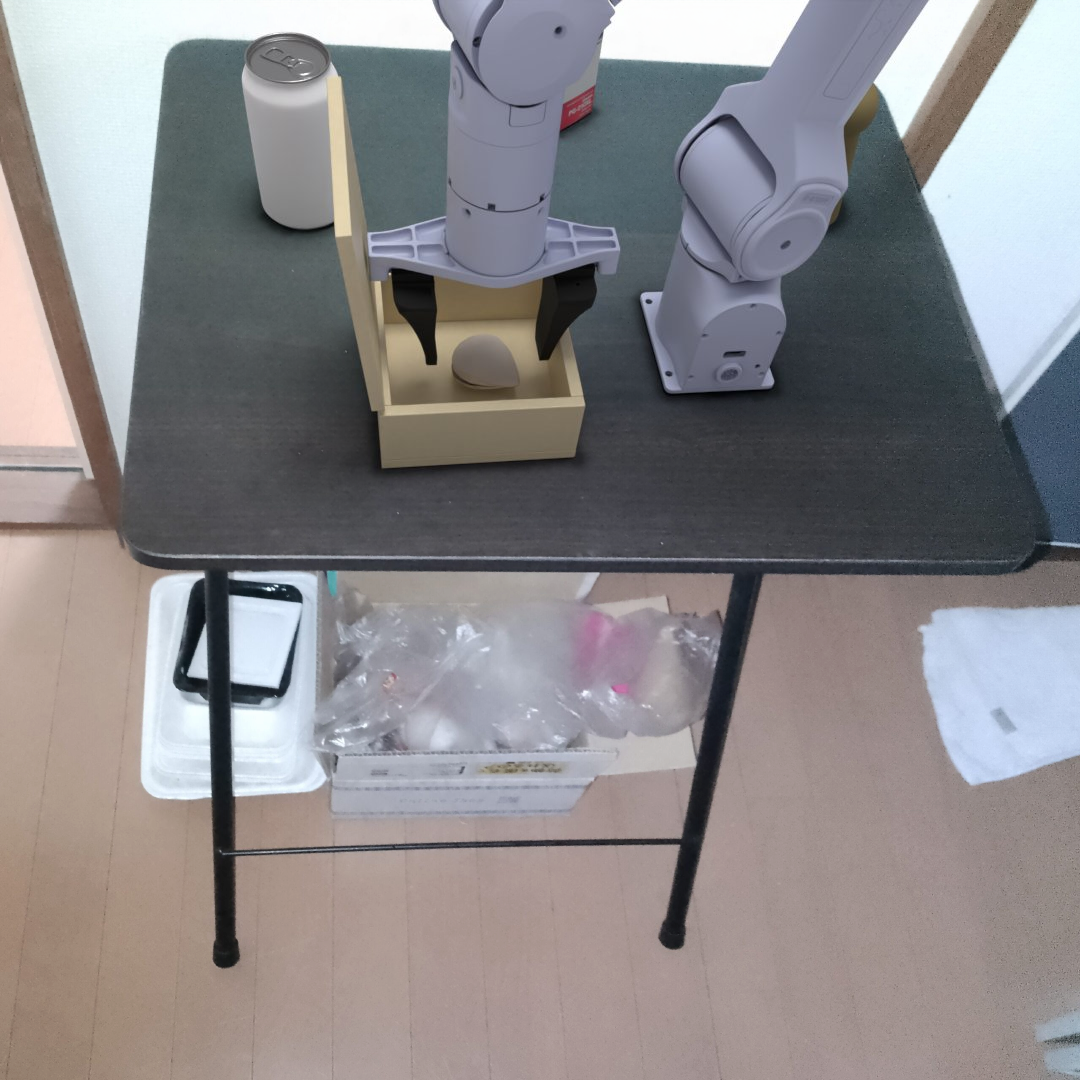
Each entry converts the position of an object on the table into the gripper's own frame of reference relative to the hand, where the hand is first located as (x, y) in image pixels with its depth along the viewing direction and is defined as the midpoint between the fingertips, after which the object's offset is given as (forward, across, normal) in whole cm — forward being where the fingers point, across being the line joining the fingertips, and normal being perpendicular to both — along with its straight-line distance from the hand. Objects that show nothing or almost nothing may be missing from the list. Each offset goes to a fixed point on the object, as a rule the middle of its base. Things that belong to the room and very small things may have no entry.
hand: (486, 351), depth 65 cm
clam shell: (+3, 0, 0) cm, 3 cm away
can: (+4, +12, -19) cm, 23 cm away
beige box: (+4, +1, 0) cm, 4 cm away
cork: (+4, -28, -18) cm, 34 cm away
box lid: (-9, +7, 0) cm, 11 cm away
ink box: (+4, -8, -32) cm, 33 cm away
